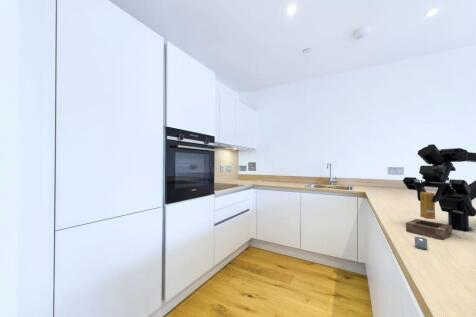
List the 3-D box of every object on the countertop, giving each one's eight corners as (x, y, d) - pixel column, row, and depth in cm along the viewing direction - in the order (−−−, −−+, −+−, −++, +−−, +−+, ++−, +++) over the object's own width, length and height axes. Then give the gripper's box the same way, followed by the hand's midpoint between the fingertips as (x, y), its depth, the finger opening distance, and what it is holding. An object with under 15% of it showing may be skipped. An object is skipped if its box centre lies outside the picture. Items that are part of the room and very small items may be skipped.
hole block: (416, 226, 83) (416, 218, 83) (452, 234, 74) (451, 225, 74) (406, 231, 77) (405, 222, 77) (443, 240, 68) (443, 230, 68)
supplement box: (436, 219, 73) (435, 193, 74) (426, 219, 74) (424, 192, 74) (429, 216, 77) (428, 191, 77) (419, 216, 77) (418, 191, 78)
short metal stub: (417, 245, 64) (417, 236, 64) (429, 248, 62) (428, 239, 62) (413, 247, 63) (412, 237, 63) (425, 250, 60) (424, 241, 60)
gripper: (404, 159, 86) (389, 185, 82) (465, 157, 69) (451, 190, 65) (414, 175, 89) (401, 201, 85) (476, 178, 72) (463, 211, 67)
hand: (425, 201), depth 75 cm, fingers closed on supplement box, 4 cm apart
